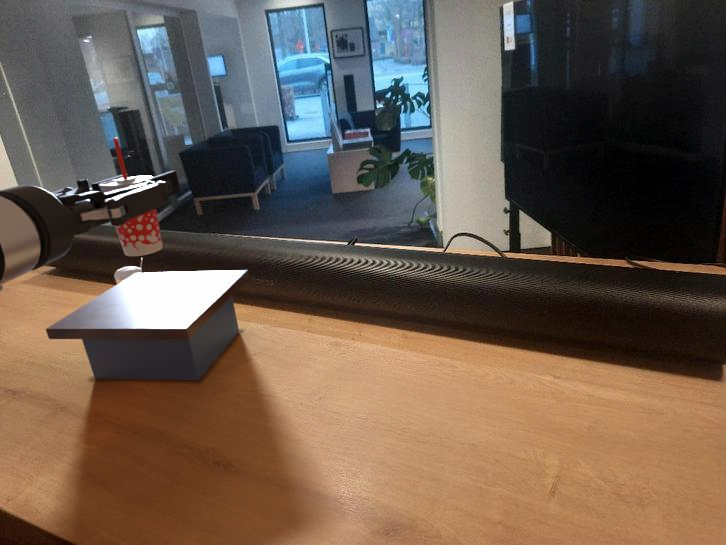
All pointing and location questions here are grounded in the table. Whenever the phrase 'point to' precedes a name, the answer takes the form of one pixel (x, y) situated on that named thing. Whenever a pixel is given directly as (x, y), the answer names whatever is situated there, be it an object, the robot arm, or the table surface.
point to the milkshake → (126, 272)
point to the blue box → (164, 352)
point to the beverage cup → (135, 218)
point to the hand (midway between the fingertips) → (151, 182)
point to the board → (152, 306)
